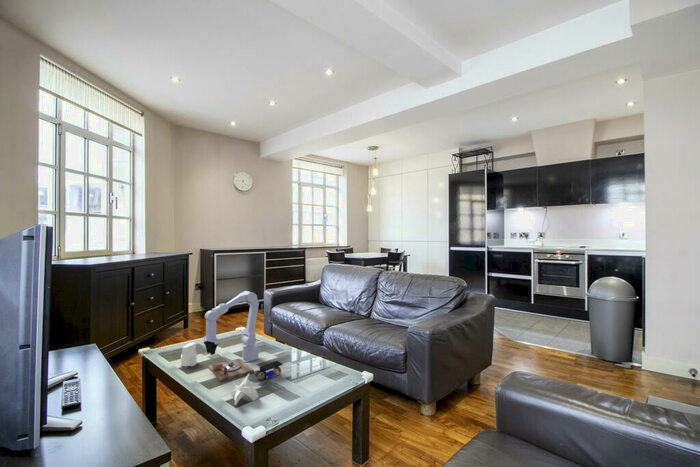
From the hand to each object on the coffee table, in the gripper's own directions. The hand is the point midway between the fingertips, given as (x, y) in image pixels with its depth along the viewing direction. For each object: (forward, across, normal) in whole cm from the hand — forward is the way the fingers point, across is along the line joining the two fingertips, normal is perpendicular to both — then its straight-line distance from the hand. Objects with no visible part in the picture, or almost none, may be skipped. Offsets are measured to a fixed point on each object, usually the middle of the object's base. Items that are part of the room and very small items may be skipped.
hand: (211, 353), depth 195 cm
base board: (+9, +10, +7) cm, 16 cm away
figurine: (+10, +48, -7) cm, 49 cm away
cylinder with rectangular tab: (+10, -18, -5) cm, 21 cm away
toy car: (+10, +36, +16) cm, 41 cm away
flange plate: (+8, +9, +5) cm, 13 cm away
